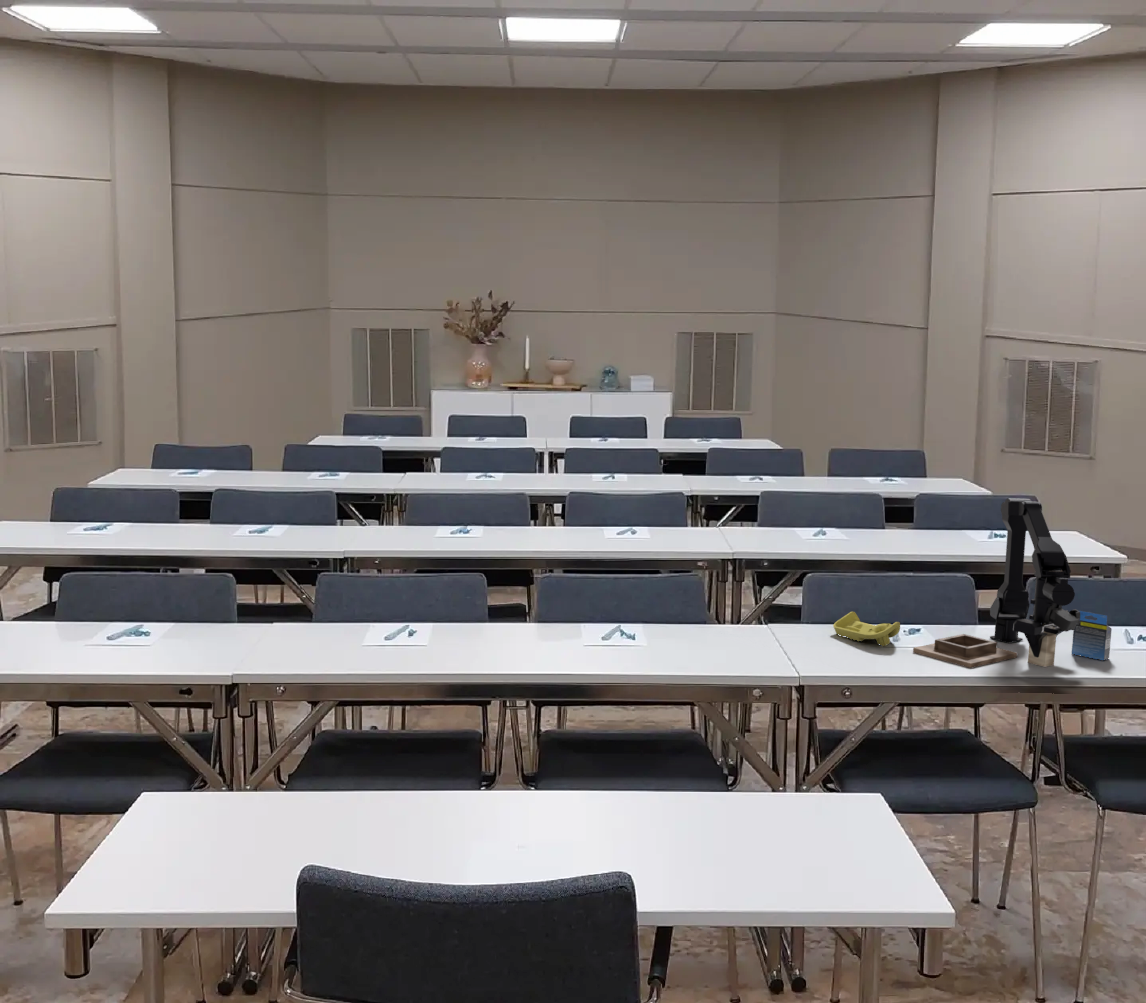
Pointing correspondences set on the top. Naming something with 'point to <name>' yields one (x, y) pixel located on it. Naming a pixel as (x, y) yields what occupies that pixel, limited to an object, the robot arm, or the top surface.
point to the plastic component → (865, 629)
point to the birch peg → (1044, 651)
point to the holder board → (965, 651)
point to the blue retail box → (1092, 636)
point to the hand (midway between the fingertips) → (1041, 655)
